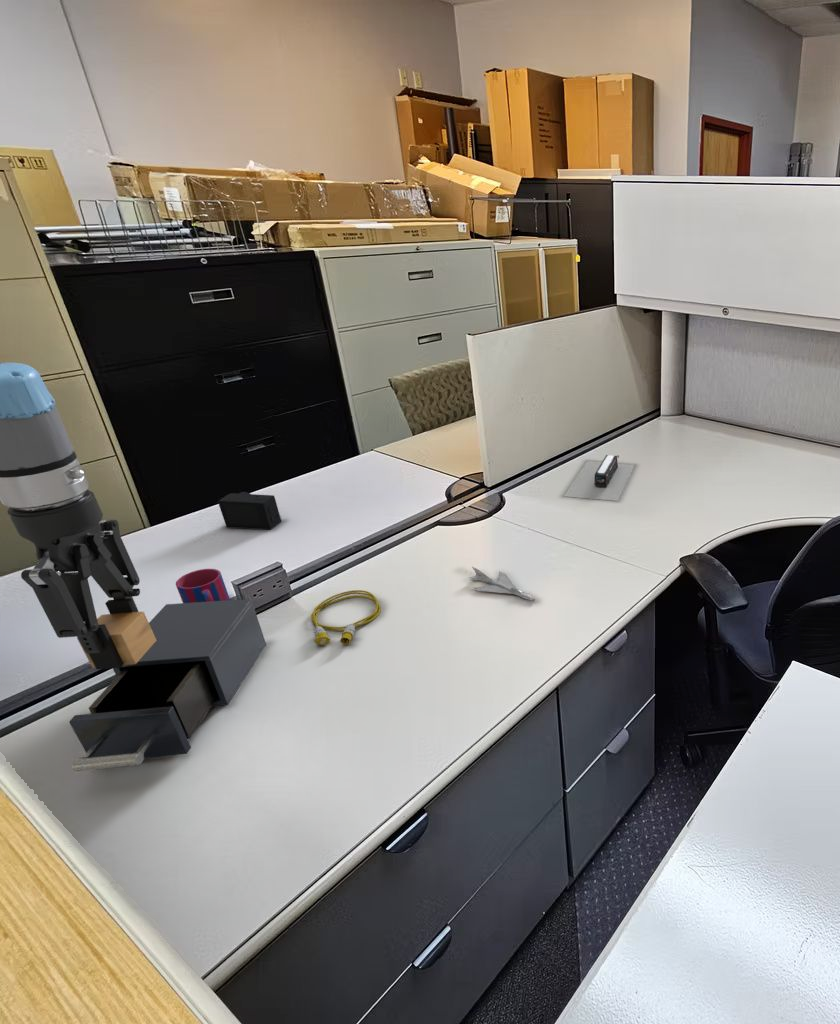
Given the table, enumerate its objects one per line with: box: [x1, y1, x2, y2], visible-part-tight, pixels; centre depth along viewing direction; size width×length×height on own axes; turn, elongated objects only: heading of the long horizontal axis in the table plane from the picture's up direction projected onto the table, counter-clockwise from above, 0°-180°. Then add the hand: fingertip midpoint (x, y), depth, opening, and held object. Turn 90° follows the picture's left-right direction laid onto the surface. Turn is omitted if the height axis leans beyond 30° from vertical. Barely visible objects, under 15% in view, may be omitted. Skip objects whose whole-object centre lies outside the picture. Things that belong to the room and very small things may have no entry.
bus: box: [564, 454, 635, 502], centre depth 174 cm, size 14×25×4 cm, turn 174°
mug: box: [175, 568, 231, 603], centre depth 113 cm, size 7×10×7 cm
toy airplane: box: [465, 566, 536, 602], centre depth 126 cm, size 8×21×2 cm, turn 60°
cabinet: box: [112, 598, 267, 707], centre depth 98 cm, size 15×13×10 cm
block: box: [76, 611, 157, 669], centre depth 82 cm, size 5×5×5 cm
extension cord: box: [310, 589, 381, 646], centre depth 114 cm, size 12×16×2 cm
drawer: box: [68, 661, 219, 772], centre depth 86 cm, size 18×11×8 cm, turn 11°
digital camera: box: [217, 491, 282, 531], centre depth 143 cm, size 10×5×7 cm, turn 89°
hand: (123, 652), depth 83 cm, fingers closed on block, 5 cm apart
